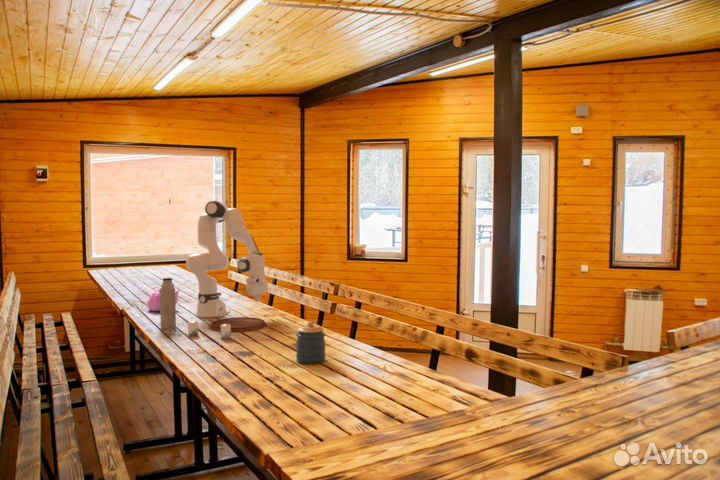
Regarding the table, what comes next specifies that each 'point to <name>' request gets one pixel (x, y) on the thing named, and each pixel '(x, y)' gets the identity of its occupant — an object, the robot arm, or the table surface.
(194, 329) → the bench dogs
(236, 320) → the cutting board
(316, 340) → the canister
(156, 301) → the teapot
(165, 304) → the thermos bottle
